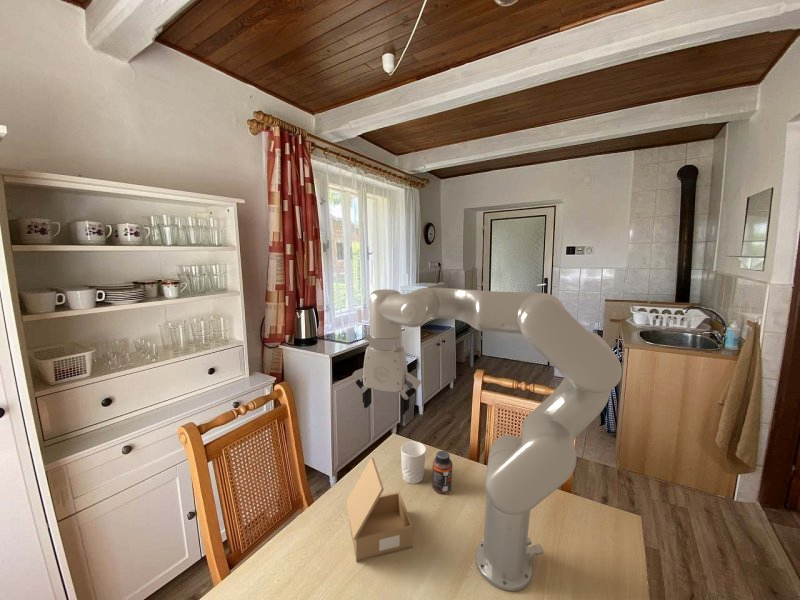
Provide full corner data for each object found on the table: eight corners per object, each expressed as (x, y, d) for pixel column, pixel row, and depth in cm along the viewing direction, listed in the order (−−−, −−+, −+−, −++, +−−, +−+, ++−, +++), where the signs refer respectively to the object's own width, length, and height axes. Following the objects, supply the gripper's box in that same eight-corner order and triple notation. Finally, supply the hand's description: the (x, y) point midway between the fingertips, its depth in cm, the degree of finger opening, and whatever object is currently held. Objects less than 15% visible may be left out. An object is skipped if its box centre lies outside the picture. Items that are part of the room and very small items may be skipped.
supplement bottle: (450, 496, 101) (452, 462, 99) (430, 493, 102) (431, 459, 100) (451, 482, 106) (453, 449, 104) (432, 479, 107) (433, 447, 105)
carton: (399, 510, 95) (399, 491, 94) (412, 547, 84) (413, 526, 83) (349, 521, 91) (349, 502, 90) (356, 562, 80) (356, 540, 79)
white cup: (399, 469, 112) (399, 441, 110) (422, 467, 113) (423, 440, 111) (401, 486, 104) (402, 457, 103) (427, 484, 105) (428, 455, 103)
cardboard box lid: (373, 458, 90) (371, 457, 90) (383, 489, 79) (381, 488, 78) (348, 502, 90) (346, 501, 90) (355, 539, 79) (353, 539, 79)
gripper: (345, 342, 80) (347, 410, 83) (416, 350, 74) (415, 422, 77) (359, 334, 87) (360, 396, 90) (425, 341, 81) (423, 407, 84)
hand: (385, 408), depth 83 cm, fingers open, 9 cm apart
